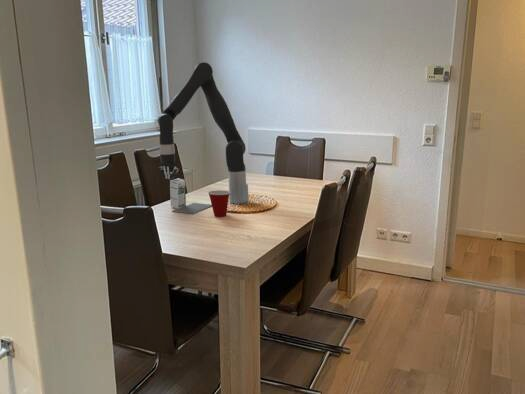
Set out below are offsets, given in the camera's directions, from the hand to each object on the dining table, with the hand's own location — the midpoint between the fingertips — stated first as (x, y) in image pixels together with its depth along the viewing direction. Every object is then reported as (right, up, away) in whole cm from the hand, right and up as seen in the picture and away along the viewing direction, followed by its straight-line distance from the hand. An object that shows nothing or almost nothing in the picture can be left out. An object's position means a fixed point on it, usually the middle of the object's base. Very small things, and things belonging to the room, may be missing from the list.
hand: (169, 185), depth 252 cm
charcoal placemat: (+13, -12, -4) cm, 18 cm away
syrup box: (+4, -11, +1) cm, 12 cm away
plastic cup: (+28, -15, -19) cm, 37 cm away
